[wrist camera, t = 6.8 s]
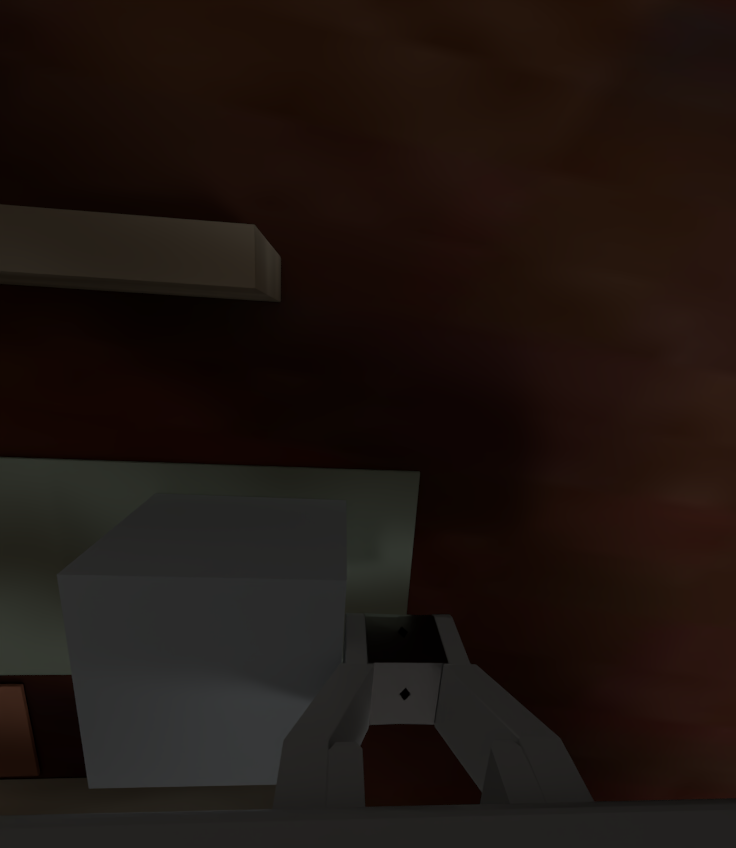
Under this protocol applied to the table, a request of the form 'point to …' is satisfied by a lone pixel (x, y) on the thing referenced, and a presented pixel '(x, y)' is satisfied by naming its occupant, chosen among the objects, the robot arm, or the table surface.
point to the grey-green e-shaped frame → (150, 484)
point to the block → (203, 636)
